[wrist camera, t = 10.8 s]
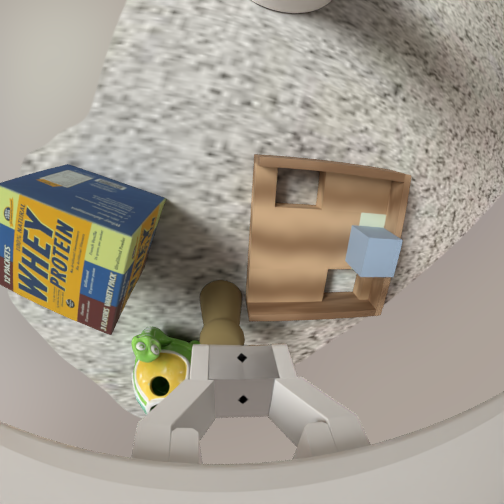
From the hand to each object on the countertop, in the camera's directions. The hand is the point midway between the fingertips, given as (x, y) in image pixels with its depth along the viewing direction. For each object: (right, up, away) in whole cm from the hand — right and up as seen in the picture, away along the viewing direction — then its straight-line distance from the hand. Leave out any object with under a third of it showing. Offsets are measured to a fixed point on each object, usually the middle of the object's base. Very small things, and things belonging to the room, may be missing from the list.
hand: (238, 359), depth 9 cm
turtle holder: (-13, -13, +36) cm, 40 cm away
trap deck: (+10, +6, +30) cm, 32 cm away
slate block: (+16, +5, +29) cm, 33 cm away
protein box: (-19, +8, +26) cm, 34 cm away
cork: (-4, -3, +33) cm, 33 cm away
